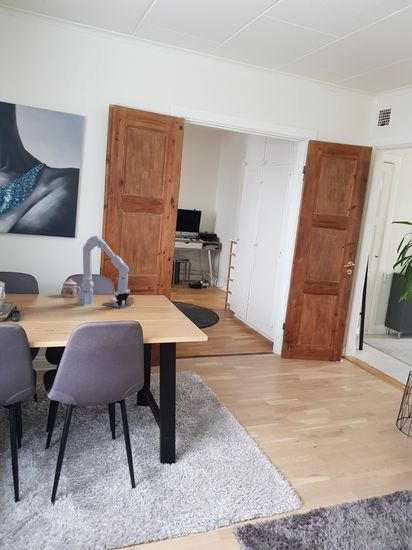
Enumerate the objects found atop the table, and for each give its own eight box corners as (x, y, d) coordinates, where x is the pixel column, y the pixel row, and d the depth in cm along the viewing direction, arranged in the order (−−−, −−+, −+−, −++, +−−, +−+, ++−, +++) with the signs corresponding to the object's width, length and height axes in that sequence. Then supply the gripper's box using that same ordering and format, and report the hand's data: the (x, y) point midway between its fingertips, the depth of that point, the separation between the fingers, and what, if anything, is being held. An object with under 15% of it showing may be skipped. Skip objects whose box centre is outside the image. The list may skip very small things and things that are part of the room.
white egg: (122, 307, 268) (122, 301, 267) (117, 306, 269) (117, 300, 268) (125, 306, 271) (125, 300, 270) (120, 305, 272) (121, 299, 272)
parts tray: (120, 309, 263) (120, 307, 263) (102, 305, 268) (102, 303, 268) (131, 306, 274) (131, 304, 274) (113, 302, 279) (113, 300, 279)
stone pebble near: (112, 305, 270) (113, 299, 270) (108, 304, 272) (108, 298, 271) (116, 304, 274) (116, 298, 273) (111, 303, 275) (111, 297, 274)
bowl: (130, 305, 277) (130, 300, 276) (117, 303, 280) (117, 298, 280) (138, 303, 286) (138, 298, 286) (125, 300, 290) (126, 296, 289)
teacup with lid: (60, 296, 283) (61, 279, 281) (65, 294, 292) (66, 277, 290) (77, 298, 282) (78, 281, 281) (82, 296, 291) (83, 279, 290)
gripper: (121, 286, 260) (120, 307, 262) (134, 283, 273) (132, 304, 275) (112, 284, 262) (110, 305, 264) (125, 282, 276) (123, 302, 278)
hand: (121, 305), depth 270 cm, fingers closed on white egg, 4 cm apart
